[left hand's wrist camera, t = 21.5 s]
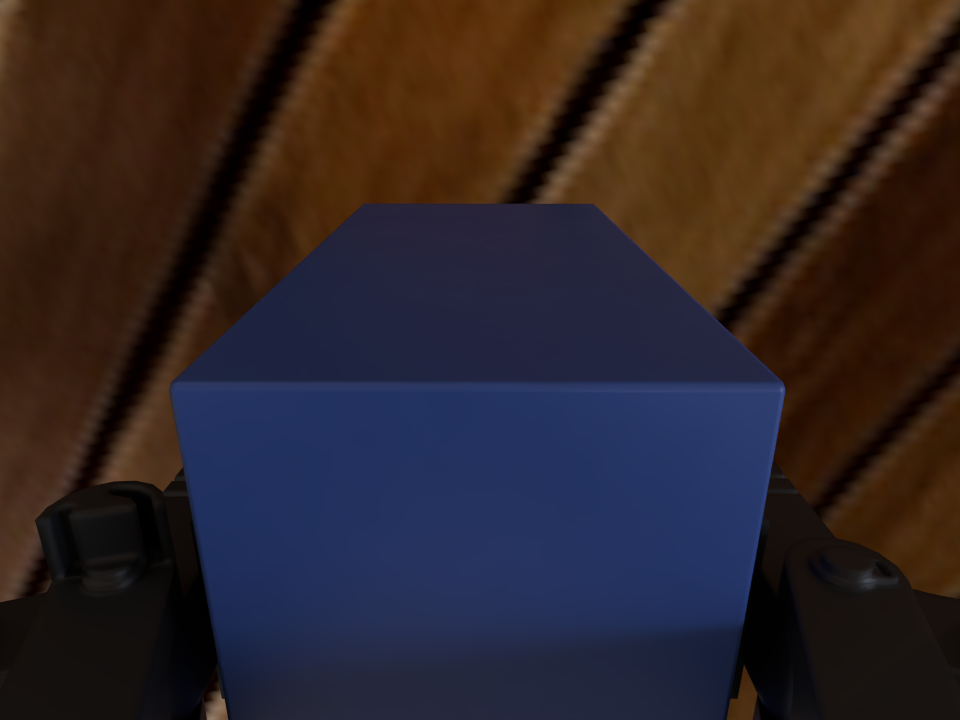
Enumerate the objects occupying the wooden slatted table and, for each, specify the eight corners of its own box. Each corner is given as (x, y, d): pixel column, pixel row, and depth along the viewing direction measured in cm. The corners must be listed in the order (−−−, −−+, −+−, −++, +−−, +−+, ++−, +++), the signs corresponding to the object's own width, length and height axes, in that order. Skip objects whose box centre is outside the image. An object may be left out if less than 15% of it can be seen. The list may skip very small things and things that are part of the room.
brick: (595, 203, 15) (791, 384, 6) (577, 493, 18) (688, 944, 8) (362, 203, 15) (164, 384, 6) (379, 492, 18) (265, 945, 8)
